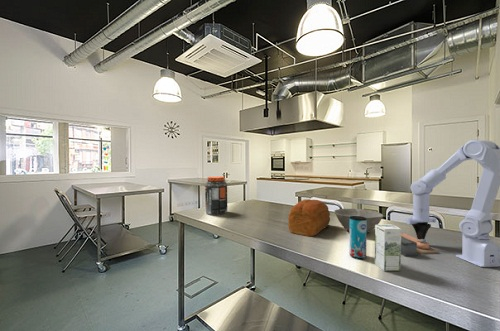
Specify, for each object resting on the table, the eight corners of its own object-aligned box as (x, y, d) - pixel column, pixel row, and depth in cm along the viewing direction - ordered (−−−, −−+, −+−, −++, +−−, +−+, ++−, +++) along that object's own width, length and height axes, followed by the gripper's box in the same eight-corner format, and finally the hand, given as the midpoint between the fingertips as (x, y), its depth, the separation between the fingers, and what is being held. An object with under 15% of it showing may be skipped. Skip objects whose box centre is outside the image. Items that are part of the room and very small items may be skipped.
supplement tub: (212, 210, 178) (212, 176, 177) (231, 211, 171) (231, 176, 171) (200, 214, 163) (200, 177, 163) (220, 216, 157) (220, 177, 156)
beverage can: (356, 260, 86) (357, 220, 86) (346, 254, 92) (346, 216, 91) (370, 258, 88) (370, 218, 87) (358, 252, 93) (358, 215, 93)
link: (431, 249, 94) (431, 241, 94) (422, 249, 94) (422, 241, 94) (406, 237, 108) (406, 231, 108) (397, 238, 108) (397, 231, 108)
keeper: (416, 255, 90) (416, 242, 90) (404, 256, 90) (404, 243, 90) (402, 248, 98) (402, 236, 98) (391, 248, 97) (391, 236, 97)
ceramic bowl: (390, 239, 109) (390, 218, 108) (338, 236, 113) (338, 216, 113) (374, 226, 130) (374, 209, 130) (331, 224, 135) (331, 207, 135)
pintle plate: (438, 253, 93) (438, 251, 93) (421, 253, 92) (421, 251, 92) (424, 246, 100) (424, 244, 99) (408, 247, 99) (408, 245, 99)
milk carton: (390, 263, 83) (390, 223, 83) (401, 271, 77) (401, 228, 77) (374, 264, 83) (374, 223, 83) (384, 272, 77) (384, 228, 77)
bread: (331, 225, 134) (331, 198, 133) (316, 238, 112) (316, 205, 111) (304, 221, 143) (304, 195, 143) (285, 232, 121) (285, 202, 121)
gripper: (425, 206, 108) (425, 235, 108) (399, 207, 104) (399, 237, 104) (441, 209, 101) (440, 240, 101) (414, 210, 97) (413, 243, 98)
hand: (420, 239), depth 102 cm, fingers closed
